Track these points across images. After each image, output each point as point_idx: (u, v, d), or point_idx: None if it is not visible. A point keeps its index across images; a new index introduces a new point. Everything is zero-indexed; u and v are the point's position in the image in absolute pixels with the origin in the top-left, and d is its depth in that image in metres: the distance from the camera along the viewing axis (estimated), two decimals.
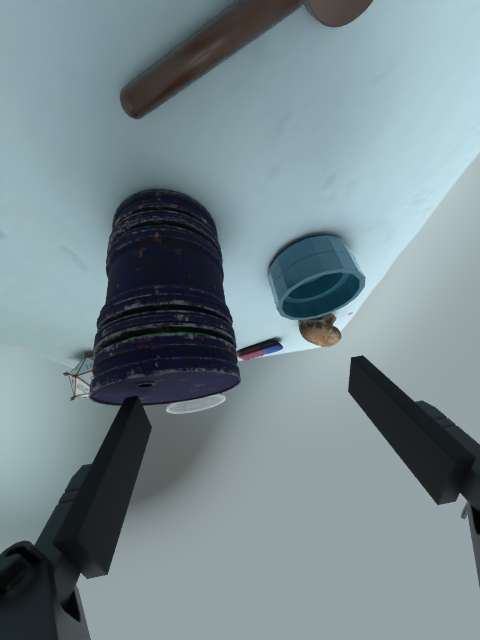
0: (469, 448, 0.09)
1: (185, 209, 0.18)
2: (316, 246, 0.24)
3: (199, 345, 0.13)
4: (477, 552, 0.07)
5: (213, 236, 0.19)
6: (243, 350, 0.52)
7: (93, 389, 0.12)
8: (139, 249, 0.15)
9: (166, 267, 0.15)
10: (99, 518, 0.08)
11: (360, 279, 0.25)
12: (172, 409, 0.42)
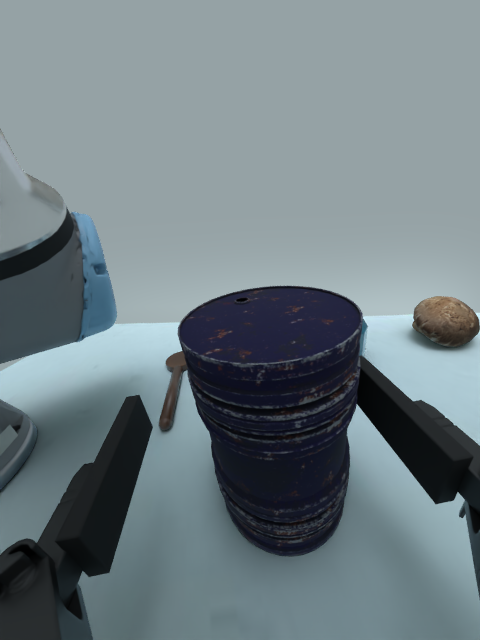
0: (467, 447, 0.09)
1: None
2: None
3: None
4: (475, 551, 0.07)
5: None
6: None
7: (204, 303, 0.15)
8: None
9: None
10: (100, 517, 0.08)
11: None
12: None
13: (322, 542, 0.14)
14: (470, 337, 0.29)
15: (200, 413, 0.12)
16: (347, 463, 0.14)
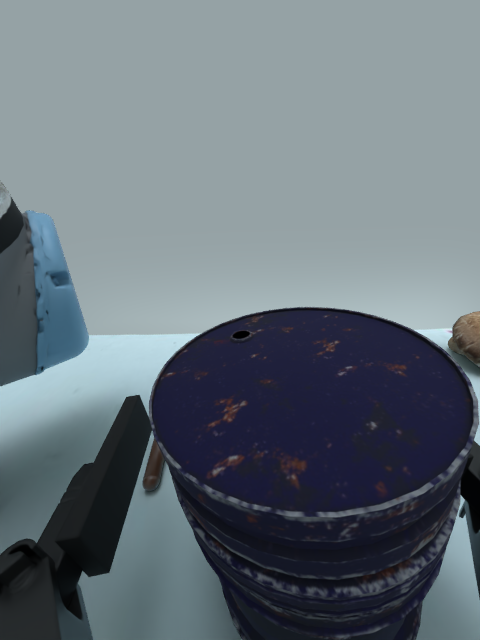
0: None
1: None
2: None
3: None
4: (475, 551, 0.07)
5: None
6: None
7: (186, 345, 0.10)
8: None
9: None
10: (100, 517, 0.08)
11: None
12: None
13: None
14: None
15: None
16: None
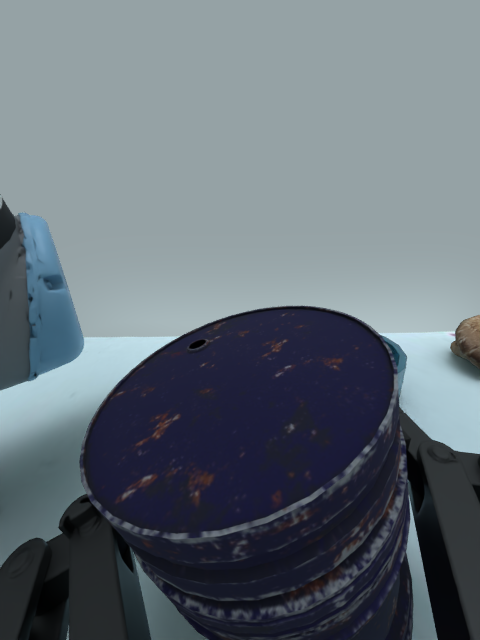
0: (410, 432, 0.10)
1: None
2: None
3: None
4: (418, 529, 0.08)
5: None
6: None
7: (144, 361, 0.10)
8: None
9: None
10: None
11: None
12: None
13: None
14: None
15: None
16: (404, 556, 0.09)
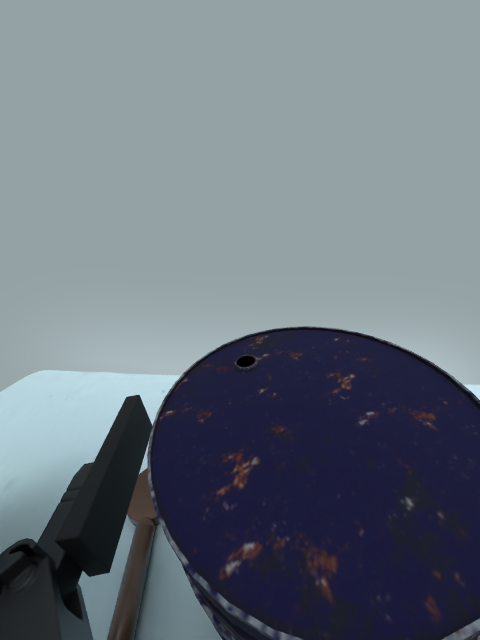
0: None
1: None
2: None
3: None
4: None
5: None
6: None
7: (186, 372, 0.10)
8: None
9: None
10: (100, 516, 0.08)
11: None
12: None
13: None
14: None
15: None
16: None
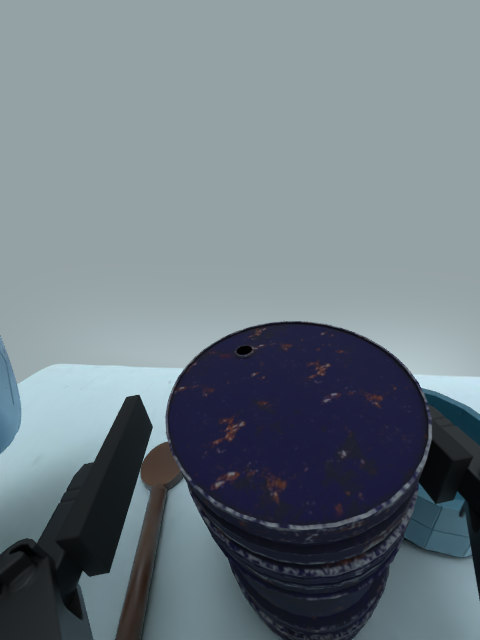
0: (467, 447, 0.09)
1: None
2: None
3: None
4: (474, 550, 0.07)
5: None
6: None
7: (195, 357, 0.12)
8: None
9: None
10: (101, 517, 0.08)
11: None
12: None
13: (362, 626, 0.12)
14: None
15: None
16: None
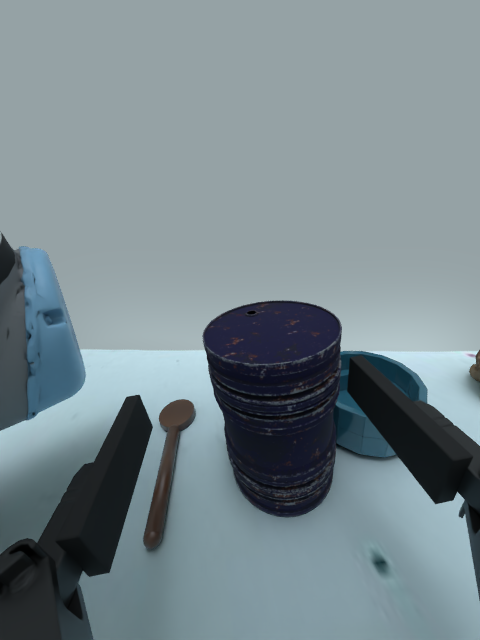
0: (466, 447, 0.09)
1: None
2: None
3: None
4: (475, 551, 0.07)
5: None
6: None
7: (221, 314, 0.19)
8: None
9: None
10: (101, 516, 0.08)
11: None
12: None
13: (312, 507, 0.18)
14: None
15: (218, 400, 0.16)
16: (332, 445, 0.17)
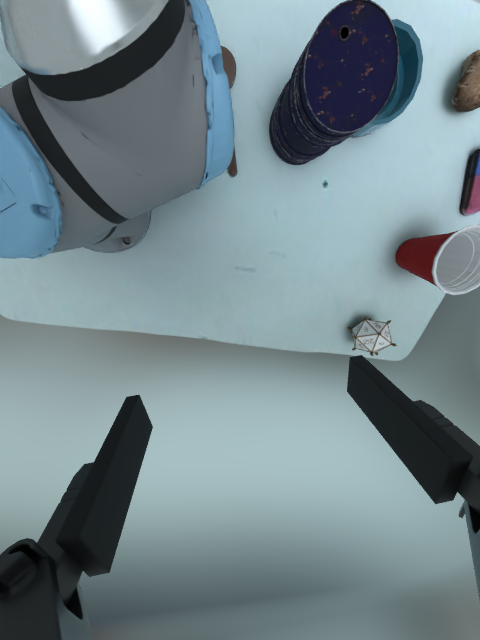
0: (466, 447, 0.09)
1: None
2: None
3: None
4: (474, 550, 0.07)
5: None
6: (462, 203, 0.42)
7: (318, 25, 0.20)
8: None
9: None
10: (100, 517, 0.08)
11: None
12: (453, 290, 0.37)
13: (308, 161, 0.37)
14: None
15: (292, 118, 0.27)
16: None
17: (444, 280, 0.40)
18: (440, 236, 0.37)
